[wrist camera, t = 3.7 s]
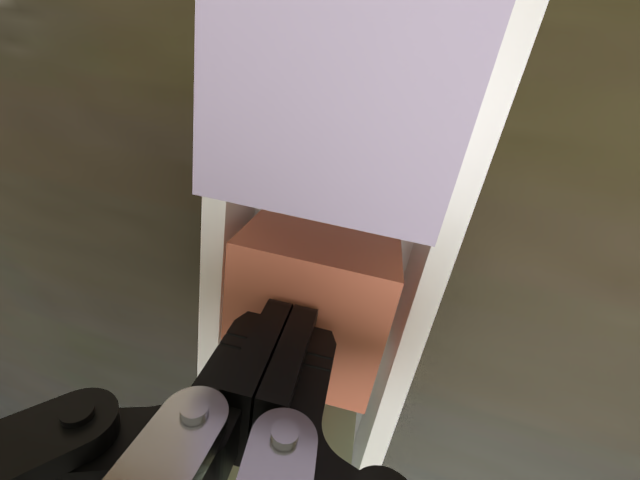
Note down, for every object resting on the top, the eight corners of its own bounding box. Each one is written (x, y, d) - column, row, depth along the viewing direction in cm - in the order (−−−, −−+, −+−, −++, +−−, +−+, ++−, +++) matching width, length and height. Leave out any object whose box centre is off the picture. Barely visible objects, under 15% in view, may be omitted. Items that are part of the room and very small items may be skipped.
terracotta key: (371, 329, 16) (364, 414, 12) (261, 303, 16) (218, 375, 12) (399, 224, 14) (404, 283, 10) (273, 197, 14) (226, 242, 10)
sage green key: (336, 474, 17) (319, 599, 13) (234, 445, 17) (186, 557, 13) (358, 398, 15) (346, 516, 11) (241, 367, 15) (188, 470, 11)
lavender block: (417, 188, 11) (434, 247, 7) (261, 156, 12) (192, 194, 7) (472, -4, 9) (541, -79, 5) (279, -33, 9) (197, -124, 5)
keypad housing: (342, 516, 23) (333, 598, 19) (222, 481, 24) (192, 553, 20) (514, -20, 11) (575, -72, 7) (264, -56, 12) (210, -120, 8)
